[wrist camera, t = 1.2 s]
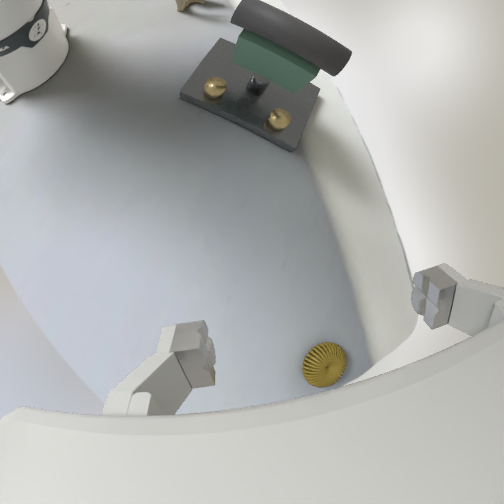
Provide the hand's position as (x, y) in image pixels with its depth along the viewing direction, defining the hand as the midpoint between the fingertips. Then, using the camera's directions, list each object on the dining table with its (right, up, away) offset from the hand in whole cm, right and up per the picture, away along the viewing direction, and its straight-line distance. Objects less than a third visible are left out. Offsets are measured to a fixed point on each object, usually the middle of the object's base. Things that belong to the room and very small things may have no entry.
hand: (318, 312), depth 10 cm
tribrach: (-2, +29, +33) cm, 44 cm away
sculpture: (+9, -17, +37) cm, 41 cm away
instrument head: (0, +29, +26) cm, 39 cm away
